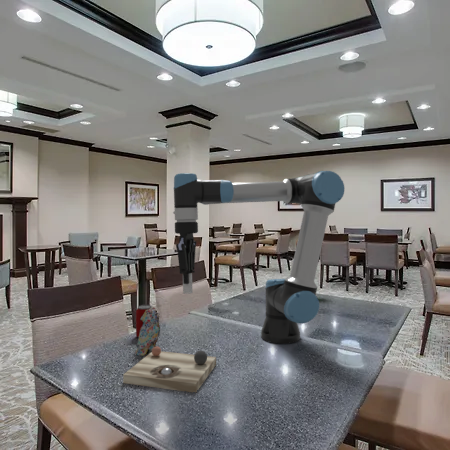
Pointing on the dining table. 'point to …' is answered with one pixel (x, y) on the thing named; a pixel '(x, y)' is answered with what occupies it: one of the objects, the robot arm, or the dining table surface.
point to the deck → (180, 366)
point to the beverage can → (139, 314)
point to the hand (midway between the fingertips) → (187, 293)
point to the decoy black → (200, 357)
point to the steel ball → (166, 371)
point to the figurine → (148, 332)
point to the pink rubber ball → (156, 351)
